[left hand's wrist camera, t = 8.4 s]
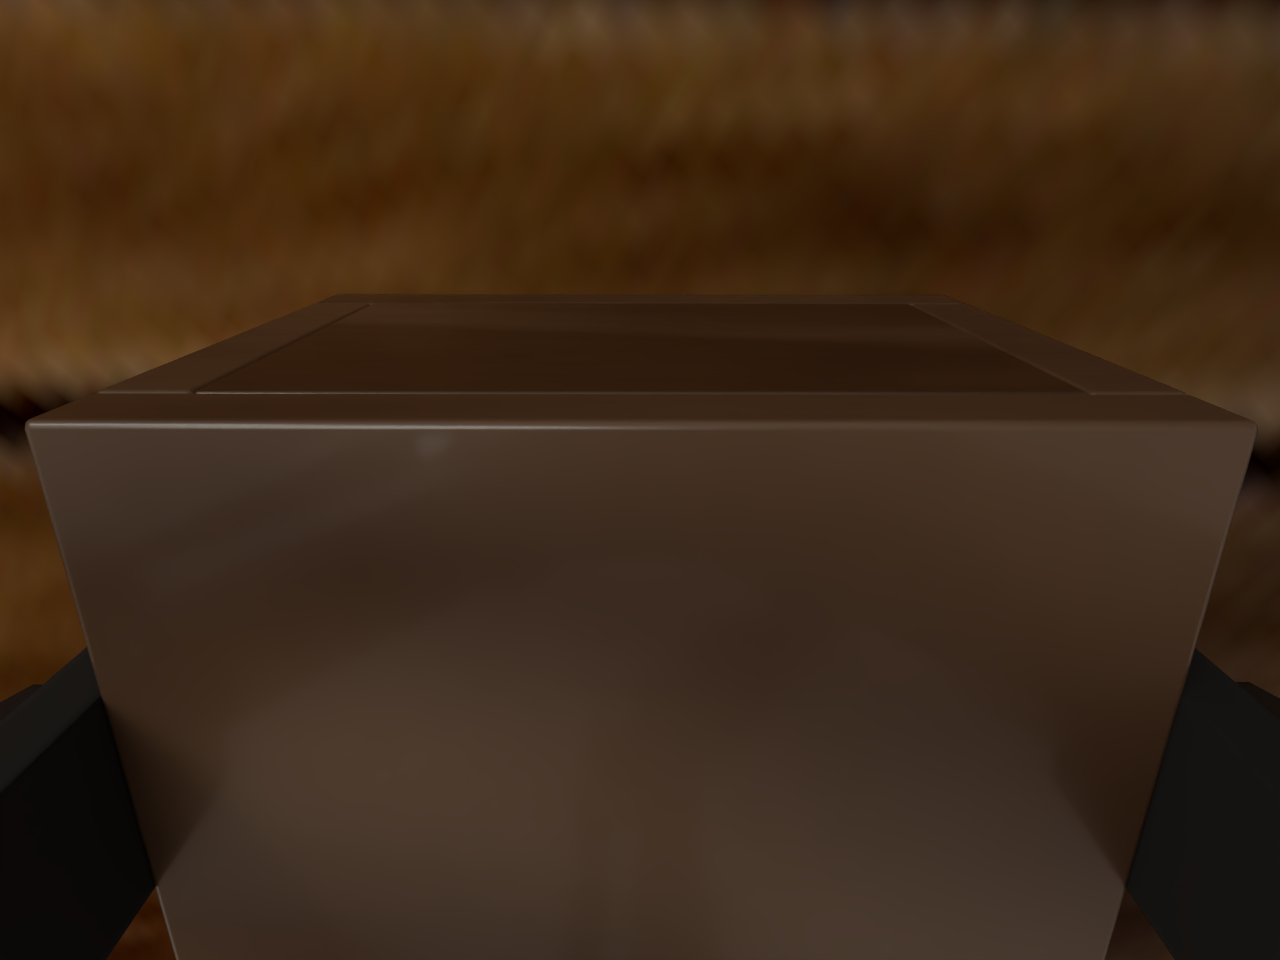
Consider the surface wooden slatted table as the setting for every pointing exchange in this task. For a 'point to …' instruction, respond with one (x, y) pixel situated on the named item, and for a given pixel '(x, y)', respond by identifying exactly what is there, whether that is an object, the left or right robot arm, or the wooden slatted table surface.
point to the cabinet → (640, 625)
